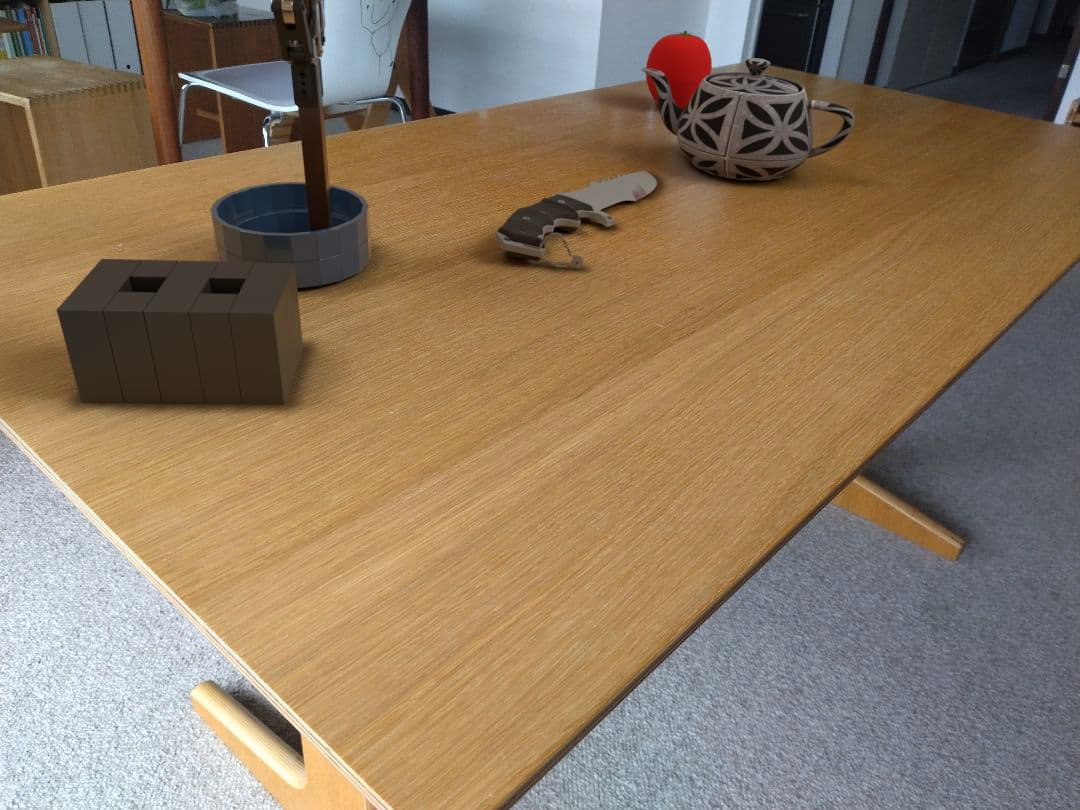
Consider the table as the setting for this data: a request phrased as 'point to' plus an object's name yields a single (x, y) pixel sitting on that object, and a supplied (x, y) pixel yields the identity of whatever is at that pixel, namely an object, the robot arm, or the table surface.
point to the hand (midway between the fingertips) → (309, 102)
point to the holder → (184, 332)
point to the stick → (315, 161)
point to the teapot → (747, 123)
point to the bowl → (293, 231)
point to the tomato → (680, 65)
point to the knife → (568, 215)
